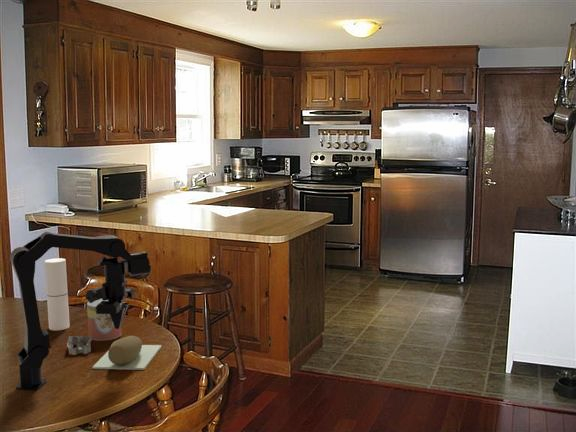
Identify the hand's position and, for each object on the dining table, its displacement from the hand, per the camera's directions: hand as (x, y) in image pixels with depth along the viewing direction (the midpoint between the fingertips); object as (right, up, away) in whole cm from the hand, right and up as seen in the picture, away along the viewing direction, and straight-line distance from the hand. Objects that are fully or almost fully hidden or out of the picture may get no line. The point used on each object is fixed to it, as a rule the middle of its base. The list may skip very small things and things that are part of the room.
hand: (117, 328), depth 196 cm
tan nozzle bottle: (0, -8, -1) cm, 8 cm away
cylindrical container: (-32, -7, +42) cm, 53 cm away
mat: (+1, -11, +11) cm, 15 cm away
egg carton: (-17, -11, +19) cm, 28 cm away
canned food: (-13, -8, +33) cm, 36 cm away
